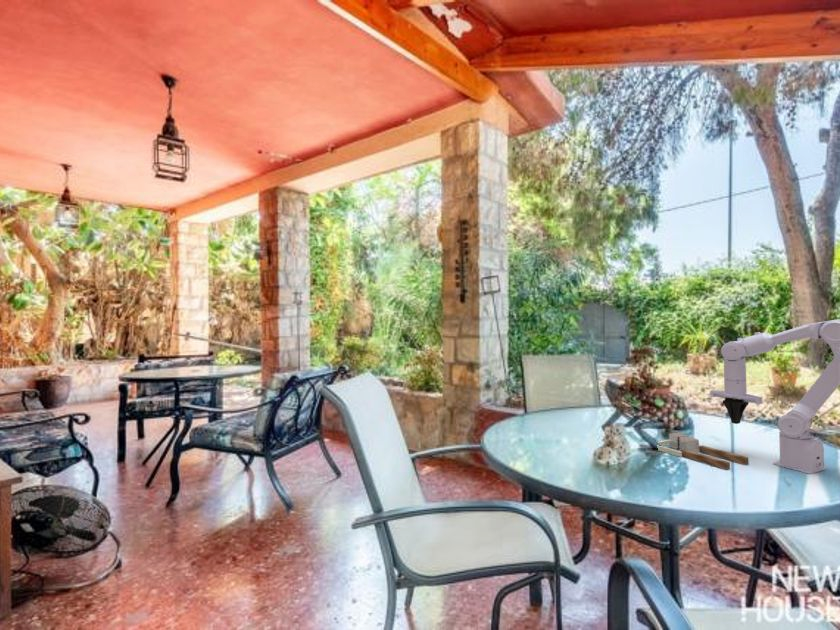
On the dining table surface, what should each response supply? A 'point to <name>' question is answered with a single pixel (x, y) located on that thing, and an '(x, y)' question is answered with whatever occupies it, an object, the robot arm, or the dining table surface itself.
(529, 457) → the dining table surface
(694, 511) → the dining table surface
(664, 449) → the beige open frame
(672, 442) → the greyish beige cube
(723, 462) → the slot rails
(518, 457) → the dining table surface
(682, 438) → the grey brown cube
